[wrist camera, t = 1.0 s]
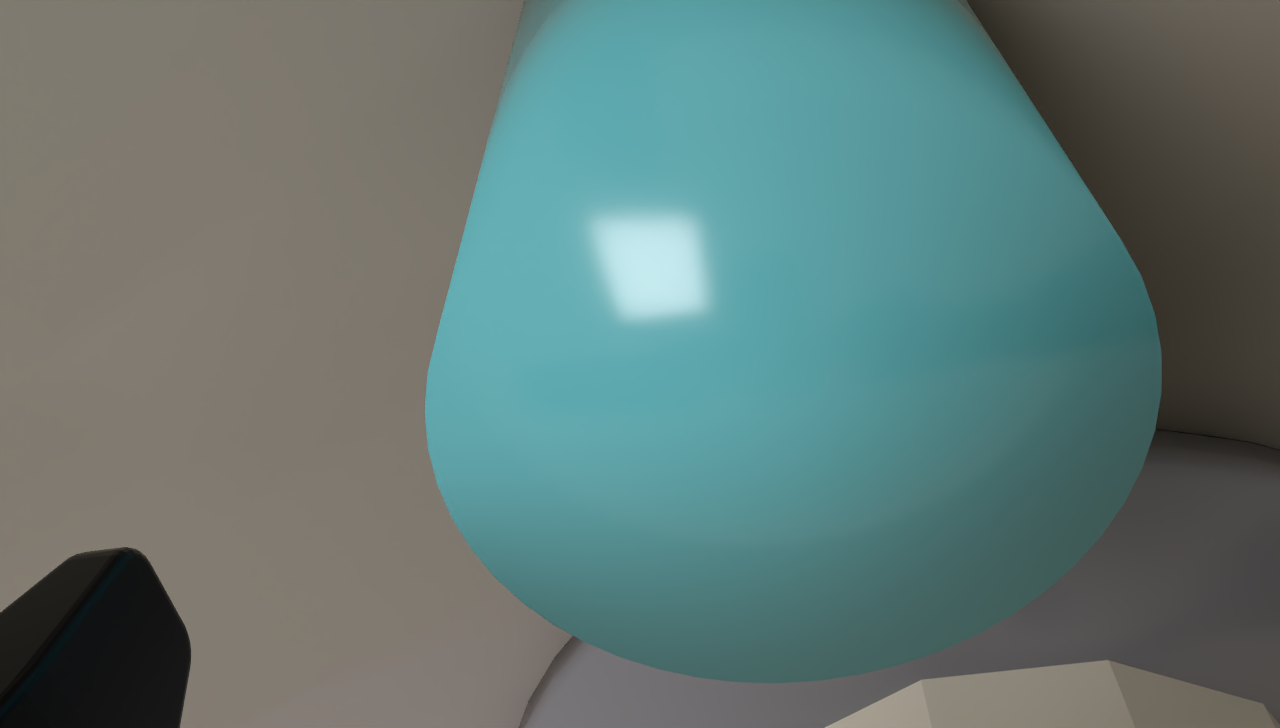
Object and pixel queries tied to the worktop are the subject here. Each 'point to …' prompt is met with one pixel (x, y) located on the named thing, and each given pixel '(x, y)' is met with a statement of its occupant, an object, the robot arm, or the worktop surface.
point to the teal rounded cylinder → (782, 337)
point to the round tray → (1038, 633)
